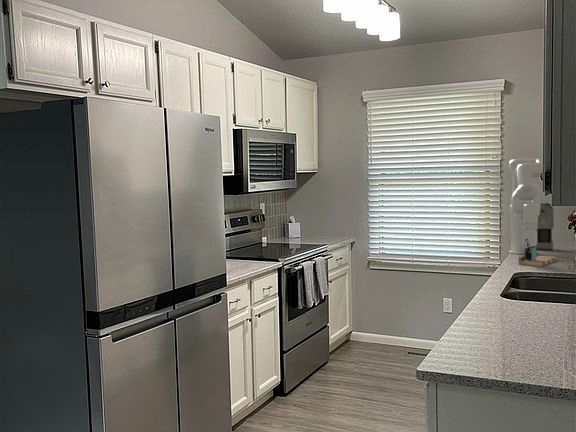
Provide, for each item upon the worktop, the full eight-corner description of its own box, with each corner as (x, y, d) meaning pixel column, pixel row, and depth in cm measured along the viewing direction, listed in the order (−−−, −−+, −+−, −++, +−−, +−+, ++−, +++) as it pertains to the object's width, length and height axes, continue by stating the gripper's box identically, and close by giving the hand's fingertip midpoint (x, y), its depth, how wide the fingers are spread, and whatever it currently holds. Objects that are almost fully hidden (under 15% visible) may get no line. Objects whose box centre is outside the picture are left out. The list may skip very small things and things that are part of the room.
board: (534, 258, 324) (534, 251, 324) (556, 260, 316) (556, 253, 315) (518, 264, 307) (518, 256, 307) (541, 266, 299) (541, 258, 298)
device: (553, 249, 358) (554, 202, 355) (552, 250, 351) (552, 203, 349) (530, 248, 365) (530, 202, 363) (528, 249, 359) (528, 203, 356)
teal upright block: (527, 259, 311) (527, 246, 310) (536, 259, 308) (536, 247, 307) (524, 260, 307) (524, 247, 307) (532, 261, 304) (532, 248, 303)
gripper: (529, 224, 315) (529, 256, 316) (517, 227, 302) (517, 260, 304) (542, 225, 309) (542, 257, 311) (531, 227, 297) (531, 261, 299)
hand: (530, 258), depth 307 cm, fingers closed on teal upright block, 5 cm apart
